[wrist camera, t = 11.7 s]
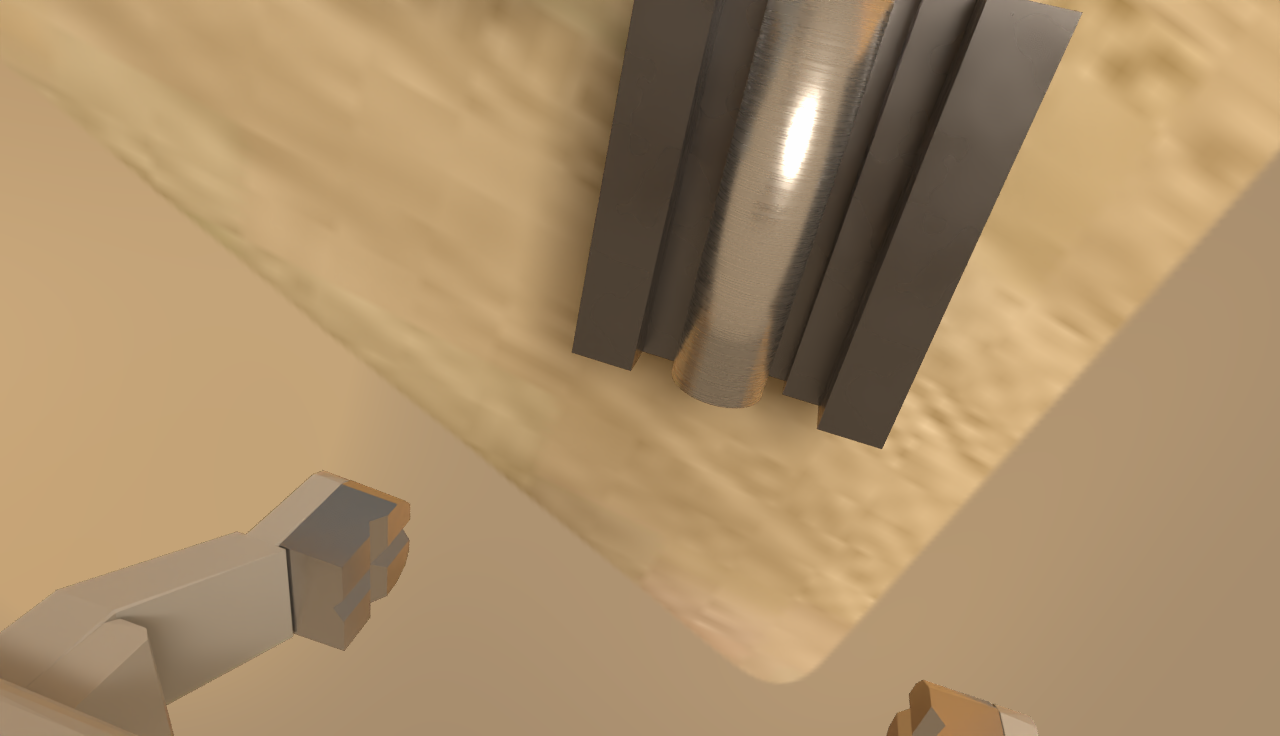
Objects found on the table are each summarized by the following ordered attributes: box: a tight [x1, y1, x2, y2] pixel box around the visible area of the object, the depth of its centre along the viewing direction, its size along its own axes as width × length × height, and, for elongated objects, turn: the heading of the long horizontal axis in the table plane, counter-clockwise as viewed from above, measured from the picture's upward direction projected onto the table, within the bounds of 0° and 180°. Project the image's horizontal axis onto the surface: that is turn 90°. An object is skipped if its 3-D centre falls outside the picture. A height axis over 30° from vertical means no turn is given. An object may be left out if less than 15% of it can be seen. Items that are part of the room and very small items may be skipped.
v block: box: [572, 0, 1082, 449], centre depth 21 cm, size 12×10×6 cm
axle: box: [672, 0, 896, 408], centre depth 20 cm, size 12×3×3 cm, turn 168°
